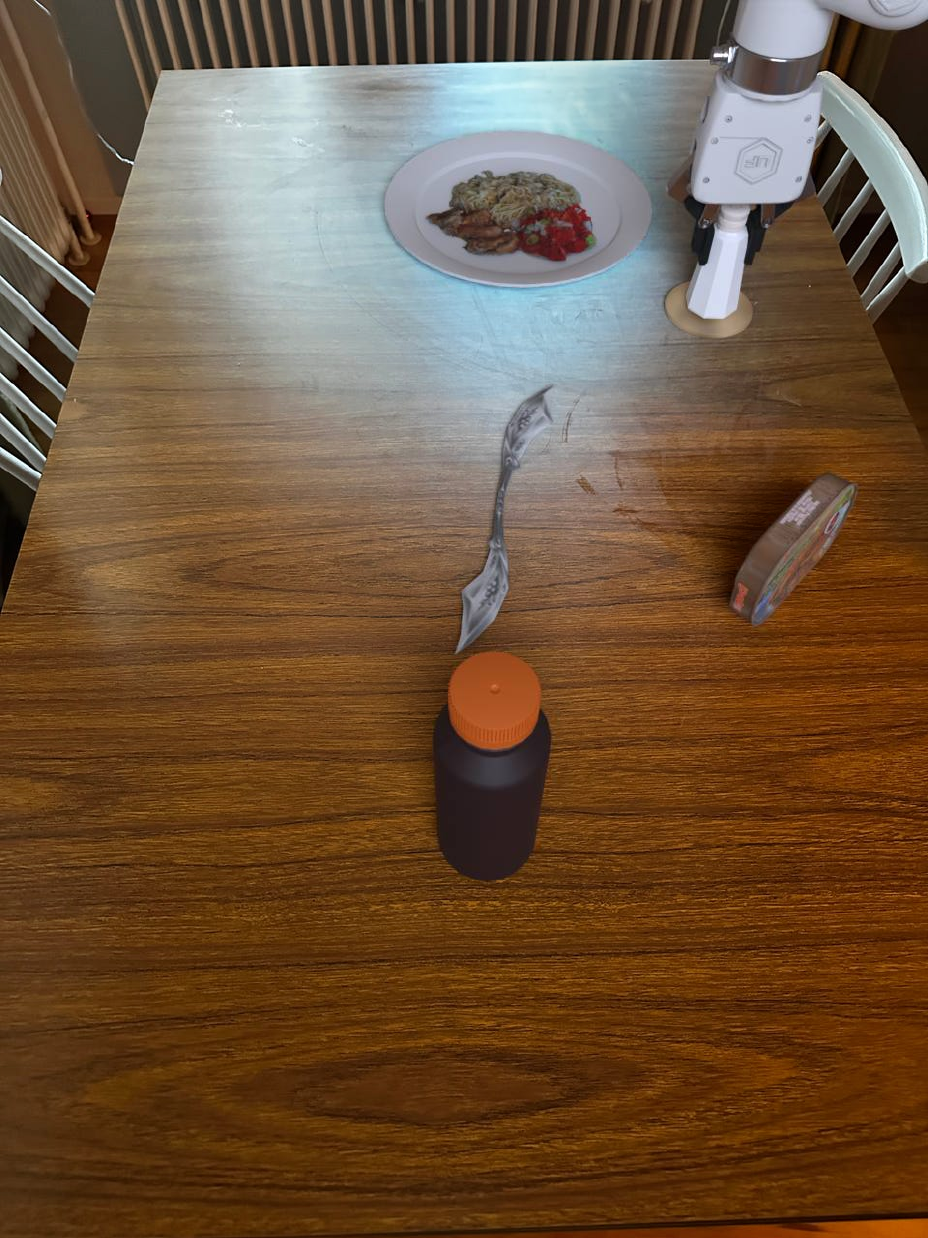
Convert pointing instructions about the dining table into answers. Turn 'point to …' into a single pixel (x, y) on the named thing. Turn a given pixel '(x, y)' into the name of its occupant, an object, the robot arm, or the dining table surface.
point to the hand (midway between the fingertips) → (723, 255)
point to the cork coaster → (706, 327)
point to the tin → (791, 547)
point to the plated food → (518, 209)
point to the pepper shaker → (721, 266)
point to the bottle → (490, 765)
